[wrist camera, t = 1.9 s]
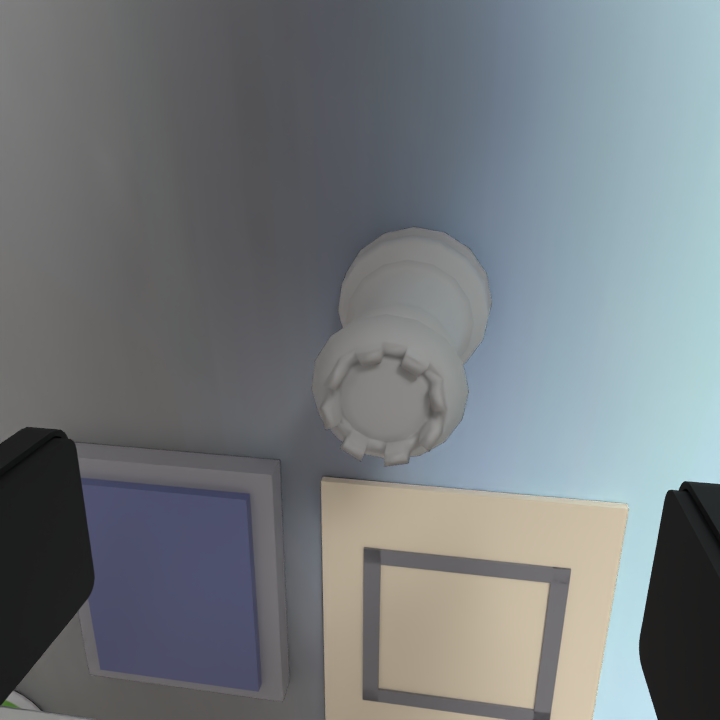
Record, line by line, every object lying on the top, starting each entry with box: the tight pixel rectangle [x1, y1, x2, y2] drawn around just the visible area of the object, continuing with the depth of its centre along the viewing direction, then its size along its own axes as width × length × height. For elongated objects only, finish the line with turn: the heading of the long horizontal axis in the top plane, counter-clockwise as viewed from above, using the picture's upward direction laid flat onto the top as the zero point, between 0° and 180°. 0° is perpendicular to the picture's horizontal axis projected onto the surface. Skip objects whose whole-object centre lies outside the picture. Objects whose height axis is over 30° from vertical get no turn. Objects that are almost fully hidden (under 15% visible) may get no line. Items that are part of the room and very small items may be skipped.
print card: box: [321, 477, 629, 720], centre depth 25 cm, size 12×10×1 cm
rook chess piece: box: [312, 227, 492, 467], centre depth 17 cm, size 4×4×8 cm
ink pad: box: [74, 442, 290, 702], centre depth 25 cm, size 10×8×1 cm
